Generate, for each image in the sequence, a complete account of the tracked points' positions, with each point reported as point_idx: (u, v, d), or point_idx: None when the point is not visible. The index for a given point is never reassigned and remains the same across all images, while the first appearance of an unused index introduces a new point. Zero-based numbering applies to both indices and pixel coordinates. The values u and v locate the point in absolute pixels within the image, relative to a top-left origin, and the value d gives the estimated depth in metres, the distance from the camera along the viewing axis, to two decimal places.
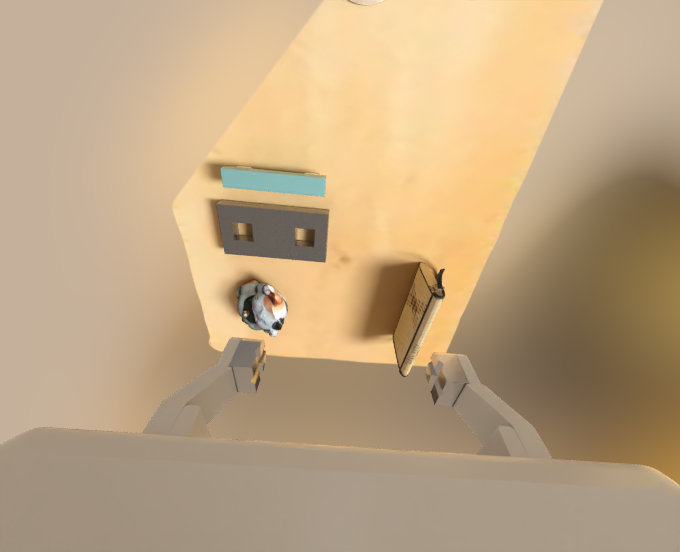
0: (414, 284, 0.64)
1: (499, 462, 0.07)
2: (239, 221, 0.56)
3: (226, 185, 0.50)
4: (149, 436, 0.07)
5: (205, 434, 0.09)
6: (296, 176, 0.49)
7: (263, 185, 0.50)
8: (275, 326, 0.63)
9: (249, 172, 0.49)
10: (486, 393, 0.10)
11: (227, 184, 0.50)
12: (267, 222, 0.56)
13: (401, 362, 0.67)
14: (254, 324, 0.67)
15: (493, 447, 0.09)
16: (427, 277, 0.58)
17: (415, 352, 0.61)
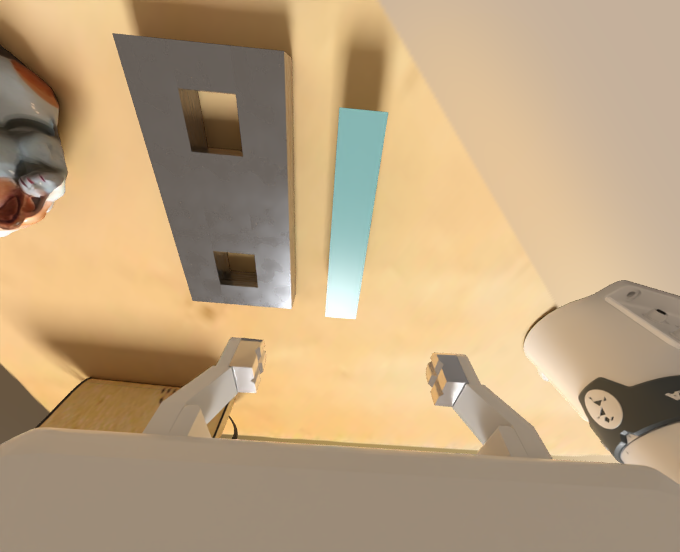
0: None
1: (499, 462, 0.07)
2: (242, 120, 0.20)
3: (343, 118, 0.18)
4: (149, 436, 0.07)
5: (205, 434, 0.09)
6: (360, 278, 0.26)
7: (344, 217, 0.23)
8: None
9: (372, 189, 0.21)
10: (486, 393, 0.10)
11: (346, 122, 0.19)
12: (254, 197, 0.24)
13: None
14: None
15: (493, 447, 0.09)
16: (218, 432, 0.40)
17: None
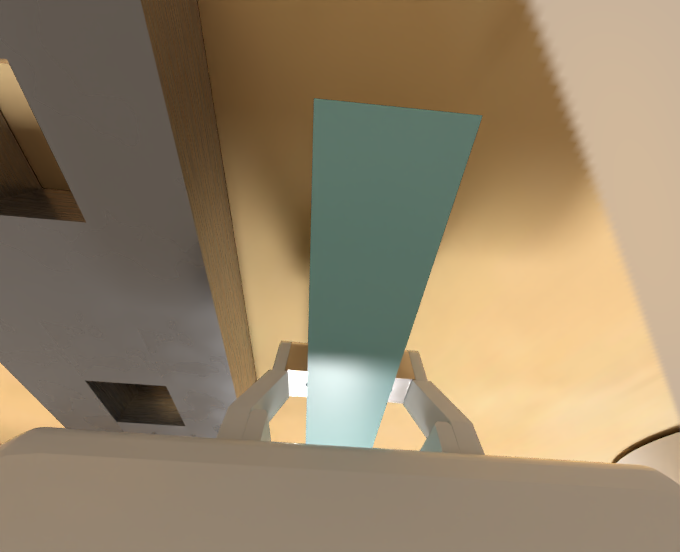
0: None
1: (499, 462, 0.07)
2: (54, 137, 0.07)
3: (330, 134, 0.06)
4: (149, 436, 0.07)
5: (268, 438, 0.09)
6: None
7: (336, 360, 0.10)
8: None
9: (408, 312, 0.08)
10: (431, 389, 0.10)
11: (339, 148, 0.06)
12: (140, 301, 0.11)
13: None
14: None
15: (431, 443, 0.09)
16: None
17: None
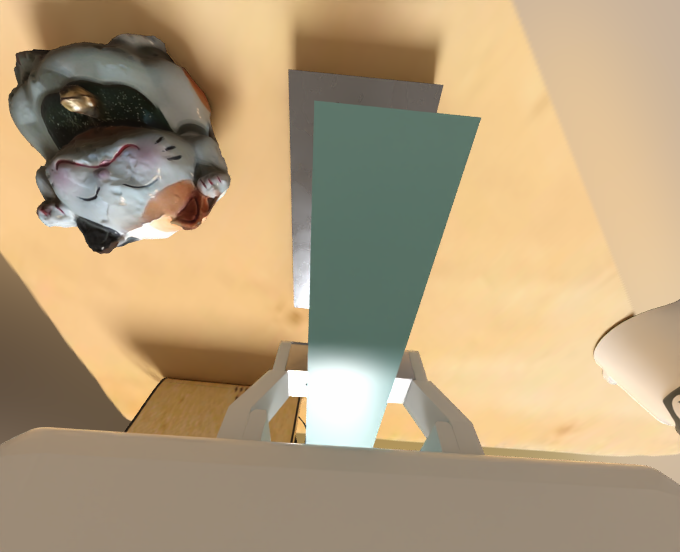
0: None
1: (499, 462, 0.07)
2: None
3: (330, 136, 0.06)
4: (149, 436, 0.07)
5: (268, 438, 0.09)
6: None
7: (336, 361, 0.10)
8: (93, 228, 0.19)
9: (408, 312, 0.08)
10: (430, 389, 0.10)
11: (339, 149, 0.06)
12: None
13: None
14: (40, 126, 0.18)
15: (431, 443, 0.09)
16: (295, 428, 0.42)
17: None
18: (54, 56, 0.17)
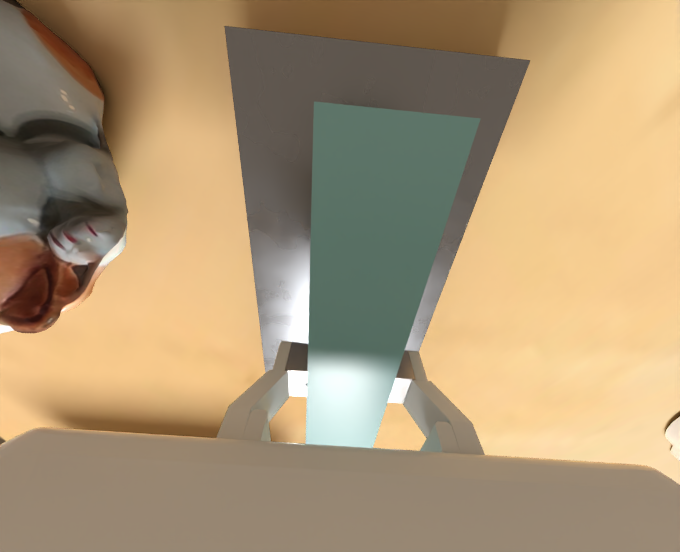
0: None
1: (499, 462, 0.07)
2: None
3: (329, 137, 0.06)
4: (149, 436, 0.07)
5: (268, 438, 0.09)
6: None
7: (336, 361, 0.10)
8: None
9: (408, 313, 0.08)
10: (430, 389, 0.10)
11: (339, 151, 0.06)
12: None
13: None
14: None
15: (431, 443, 0.09)
16: None
17: None
18: None
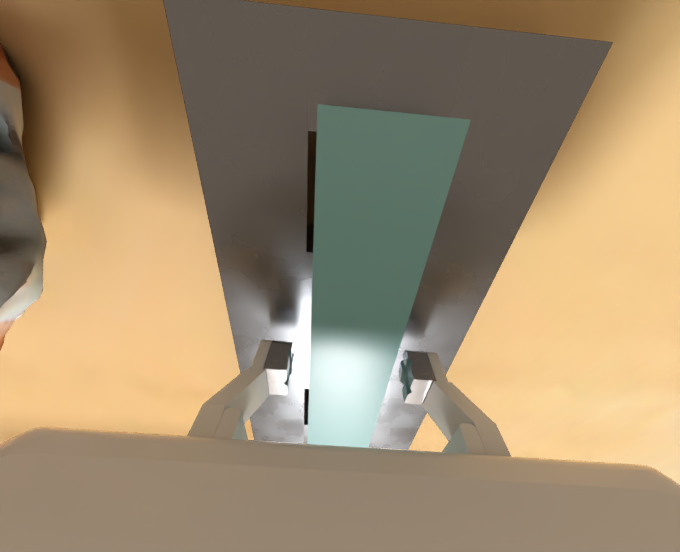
0: None
1: (499, 462, 0.07)
2: None
3: (332, 137, 0.06)
4: (149, 436, 0.07)
5: (243, 436, 0.09)
6: None
7: (337, 350, 0.10)
8: None
9: (405, 303, 0.09)
10: (452, 391, 0.10)
11: (340, 149, 0.06)
12: (407, 322, 0.13)
13: None
14: None
15: (455, 445, 0.09)
16: None
17: None
18: None
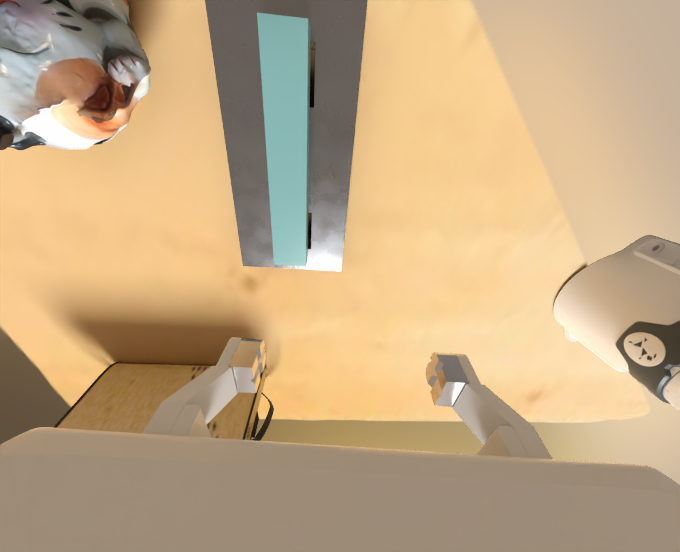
0: None
1: (499, 462, 0.07)
2: (318, 69, 0.21)
3: (263, 25, 0.18)
4: (149, 436, 0.07)
5: (205, 434, 0.09)
6: (304, 217, 0.26)
7: (278, 145, 0.22)
8: None
9: (304, 111, 0.21)
10: (486, 393, 0.10)
11: (266, 30, 0.18)
12: (320, 151, 0.25)
13: None
14: None
15: (493, 447, 0.09)
16: (256, 402, 0.40)
17: None
18: None
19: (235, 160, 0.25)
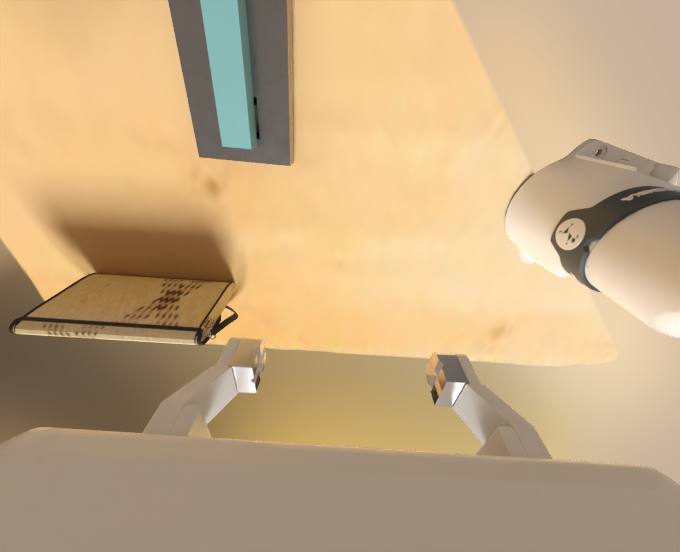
0: (199, 286, 0.45)
1: (499, 462, 0.07)
2: None
3: None
4: (149, 436, 0.07)
5: (205, 434, 0.09)
6: (244, 92, 0.28)
7: (212, 8, 0.24)
8: None
9: None
10: (486, 393, 0.10)
11: None
12: (257, 27, 0.27)
13: (40, 316, 0.37)
14: None
15: (493, 447, 0.09)
16: (218, 305, 0.42)
17: (78, 335, 0.36)
18: None
19: (182, 36, 0.27)
